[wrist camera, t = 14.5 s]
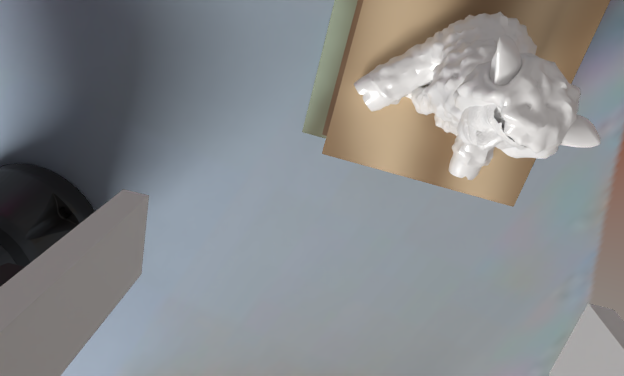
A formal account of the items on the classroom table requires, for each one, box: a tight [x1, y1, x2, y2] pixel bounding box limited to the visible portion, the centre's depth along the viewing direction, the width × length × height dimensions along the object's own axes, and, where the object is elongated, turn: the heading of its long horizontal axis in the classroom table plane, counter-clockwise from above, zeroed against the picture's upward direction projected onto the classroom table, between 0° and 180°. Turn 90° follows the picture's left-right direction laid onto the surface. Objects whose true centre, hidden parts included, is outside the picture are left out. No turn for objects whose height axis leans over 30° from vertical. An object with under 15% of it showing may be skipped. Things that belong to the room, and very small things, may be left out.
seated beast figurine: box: [354, 12, 600, 180], centre depth 22 cm, size 10×9×12 cm
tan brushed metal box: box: [302, 0, 610, 206], centre depth 34 cm, size 18×18×13 cm
